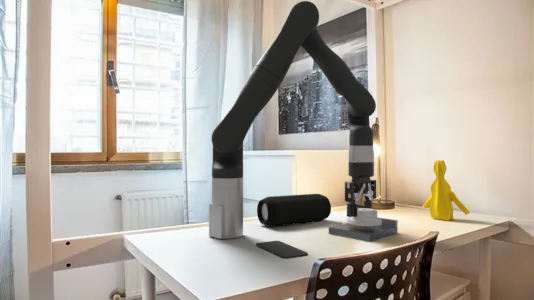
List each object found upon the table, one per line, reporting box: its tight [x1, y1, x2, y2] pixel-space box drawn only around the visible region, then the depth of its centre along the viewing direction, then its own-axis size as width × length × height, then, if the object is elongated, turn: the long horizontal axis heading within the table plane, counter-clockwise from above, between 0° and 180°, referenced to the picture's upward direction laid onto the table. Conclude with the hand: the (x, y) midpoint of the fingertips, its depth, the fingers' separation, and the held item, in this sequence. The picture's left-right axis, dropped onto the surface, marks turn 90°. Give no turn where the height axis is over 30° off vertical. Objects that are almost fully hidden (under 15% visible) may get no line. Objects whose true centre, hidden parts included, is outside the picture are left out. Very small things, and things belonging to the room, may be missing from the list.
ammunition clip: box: [346, 189, 365, 218], centre depth 140 cm, size 11×2×12 cm, turn 38°
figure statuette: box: [421, 160, 471, 221], centre depth 137 cm, size 18×8×22 cm, turn 40°
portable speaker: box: [256, 193, 332, 228], centre depth 129 cm, size 26×10×10 cm, turn 118°
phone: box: [255, 240, 309, 260], centre depth 93 cm, size 7×1×15 cm
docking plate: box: [328, 216, 399, 243], centre depth 113 cm, size 16×14×4 cm
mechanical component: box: [346, 208, 382, 226], centre depth 111 cm, size 10×4×10 cm
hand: (361, 214), depth 112 cm, fingers closed on mechanical component, 7 cm apart
